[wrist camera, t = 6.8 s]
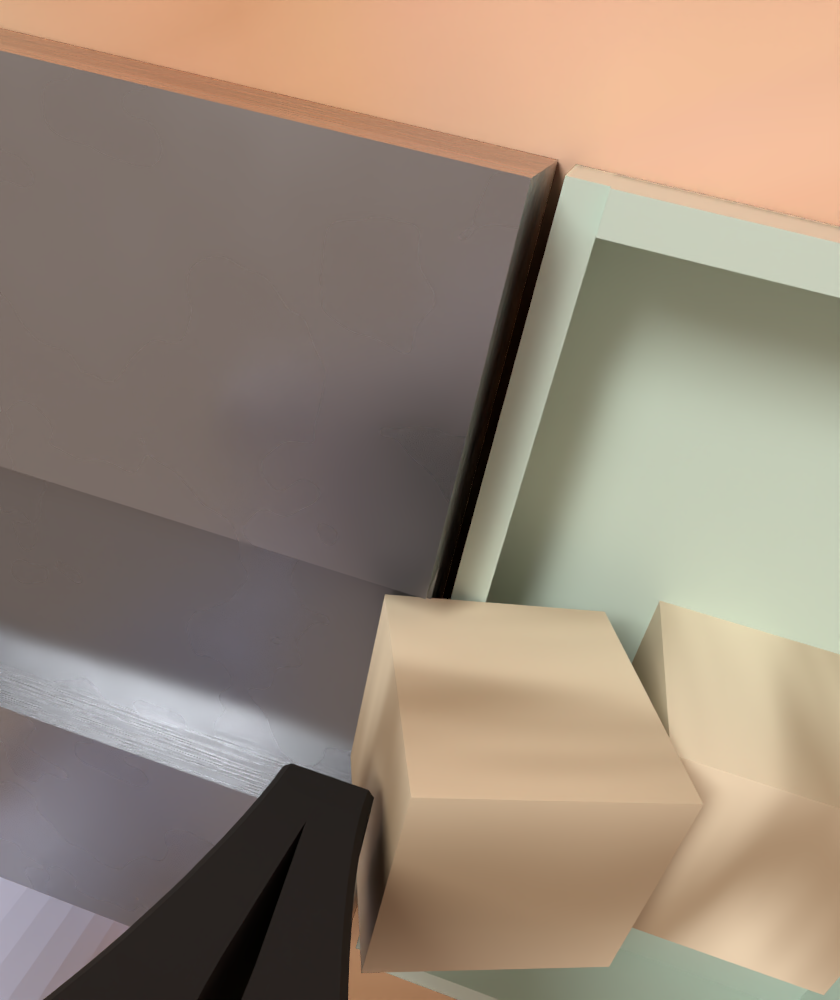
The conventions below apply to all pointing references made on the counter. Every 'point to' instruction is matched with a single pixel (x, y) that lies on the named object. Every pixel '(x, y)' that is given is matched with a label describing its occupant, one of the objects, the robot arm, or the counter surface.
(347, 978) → the robot arm
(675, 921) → the birch block rear
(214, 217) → the slotted plate
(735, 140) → the counter surface
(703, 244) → the tray
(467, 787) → the birch block front
